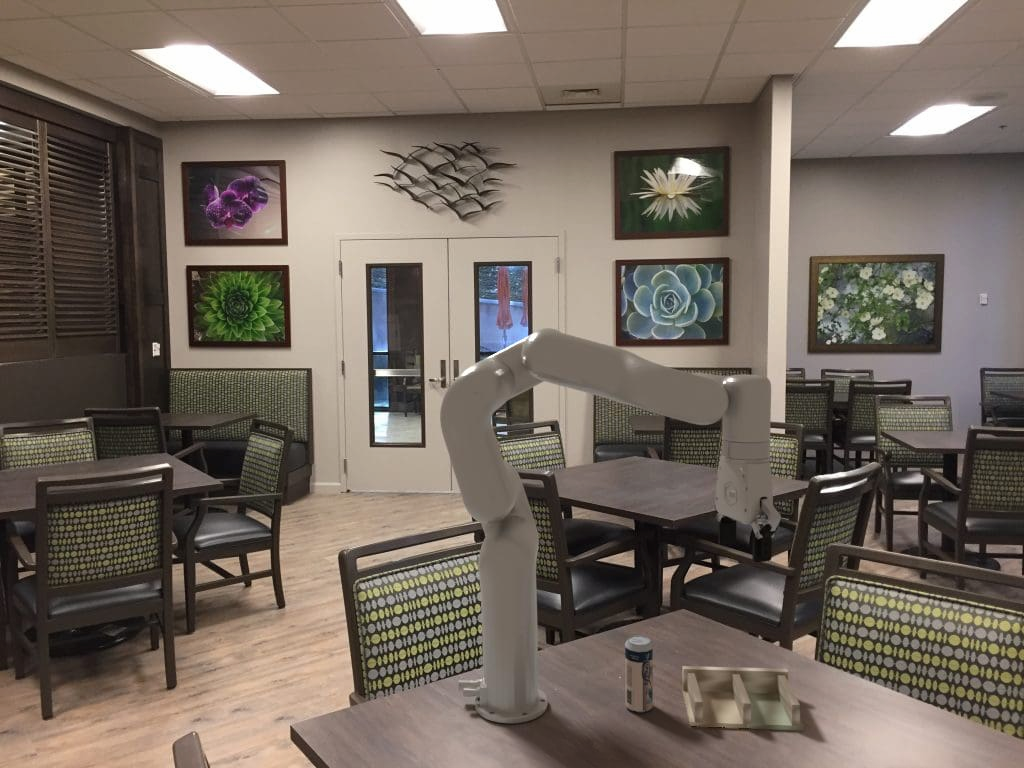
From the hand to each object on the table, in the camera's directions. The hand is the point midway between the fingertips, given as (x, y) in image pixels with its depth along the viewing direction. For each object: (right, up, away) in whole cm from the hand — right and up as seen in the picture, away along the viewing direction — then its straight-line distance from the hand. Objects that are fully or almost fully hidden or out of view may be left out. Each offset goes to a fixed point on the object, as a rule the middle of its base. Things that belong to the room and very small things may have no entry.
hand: (743, 552), depth 134 cm
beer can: (-17, -28, +5) cm, 33 cm away
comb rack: (0, -28, +4) cm, 28 cm away
